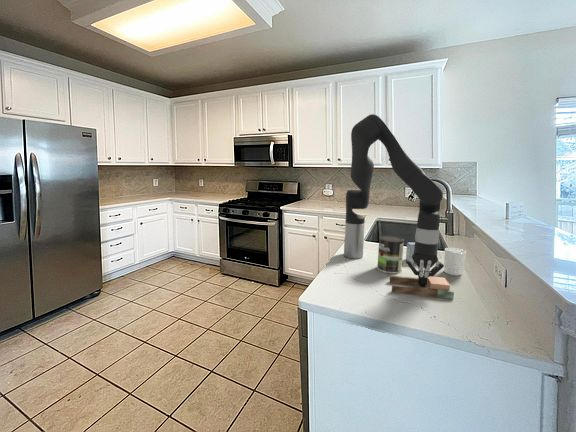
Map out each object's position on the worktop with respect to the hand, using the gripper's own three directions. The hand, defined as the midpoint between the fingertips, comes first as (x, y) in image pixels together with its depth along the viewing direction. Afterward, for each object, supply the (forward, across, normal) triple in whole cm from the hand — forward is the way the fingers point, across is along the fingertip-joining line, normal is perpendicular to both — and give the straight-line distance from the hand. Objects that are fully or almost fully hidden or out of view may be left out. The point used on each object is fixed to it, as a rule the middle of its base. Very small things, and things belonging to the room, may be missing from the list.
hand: (422, 286), depth 105 cm
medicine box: (+2, +3, +34) cm, 34 cm away
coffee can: (+2, -10, +19) cm, 22 cm away
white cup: (+2, +16, +22) cm, 28 cm away
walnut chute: (+2, -1, 0) cm, 2 cm away
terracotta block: (+2, +5, 0) cm, 5 cm away
